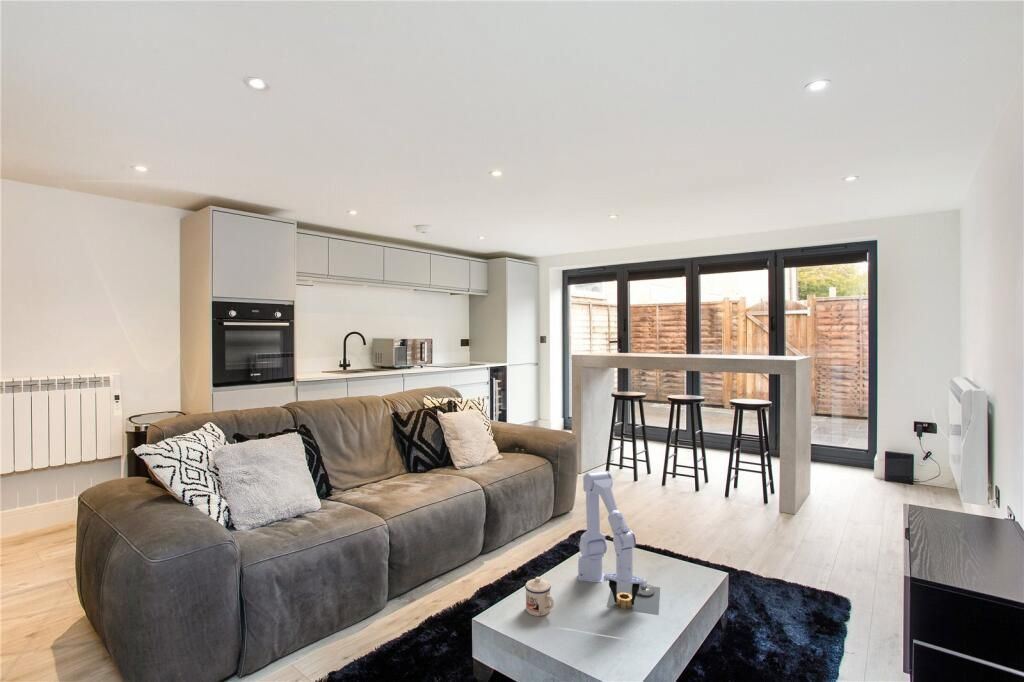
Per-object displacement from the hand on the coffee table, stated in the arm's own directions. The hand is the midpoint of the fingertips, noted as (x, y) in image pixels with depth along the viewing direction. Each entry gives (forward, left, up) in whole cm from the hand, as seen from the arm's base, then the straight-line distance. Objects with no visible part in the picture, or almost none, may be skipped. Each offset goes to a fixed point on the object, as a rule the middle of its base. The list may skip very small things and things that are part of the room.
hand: (624, 602), depth 189 cm
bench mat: (+3, +7, -1) cm, 8 cm away
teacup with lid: (-28, -12, -2) cm, 31 cm away
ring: (0, 0, -1) cm, 1 cm away
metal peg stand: (+6, +12, -1) cm, 13 cm away
